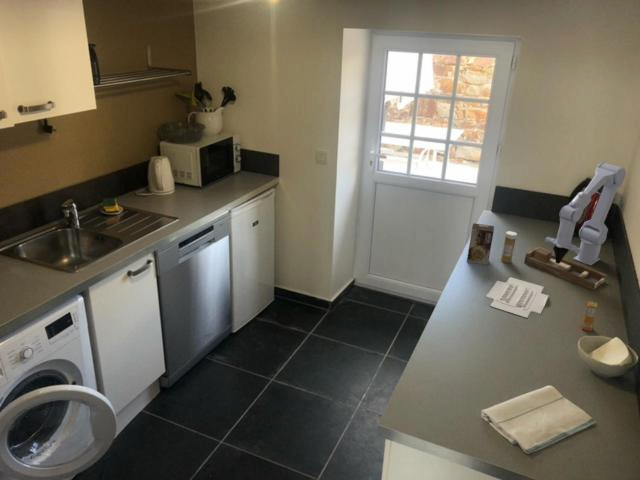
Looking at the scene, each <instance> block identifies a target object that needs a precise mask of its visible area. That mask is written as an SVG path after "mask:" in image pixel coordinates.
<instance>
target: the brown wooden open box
mask: <svg viewBox="0 0 640 480" xmlns="http://www.w3.org/2000/svg"><path fill="white" fill-rule="evenodd" d="M540 248H541V247H540V246H538V247H536V248H534V249H532V250H530V251H529V252H527V253H526V254H525V257H524V262H523V263H524V264H526V265H529V266H531V267H534V268H536V269H539V270H542V271H544V272H547V273H549V274H552V275H554V276H556V277H559V278H561V279H564V280H567V281H569V282H573V283H575V284H577V285H579V286H582V287H584V288H586V289H589V290H592V291H594V290H595V289H597V288H598V287H599V286H600V284H601V285H602V284H603V283H605V281H606V278H607V274H605V273H603V272H599V271H598V270H595V269H591V268H589V267H587V266H584V265H581V264H578V263H577V262H573V261H570V260H567V259H565V258H563V259H562V261H561V263H559V264H558V263H556V258H555V254H552V255H551V259H550V260H549V261H547V262H546V263H544V262H542V261H539V260H536V259H534V256H535V252H536V250H538V249H540ZM597 286H598V287H597ZM593 289H594V290H593Z"/></svg>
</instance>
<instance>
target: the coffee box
mask: <svg viewBox="0 0 640 480" xmlns="http://www.w3.org/2000/svg"><path fill="white" fill-rule="evenodd" d="M494 231H495V225H488V224H487V225H486V224H480V223H472V227H471V232H470V240H469V243H468V244H469V245H468V252H467V257H466V262H467V263H473V264H479V265H485V266H488V265H489V259H490V255H491V249H492V243H493V238H494Z"/></svg>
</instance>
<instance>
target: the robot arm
mask: <svg viewBox="0 0 640 480" xmlns="http://www.w3.org/2000/svg"><path fill="white" fill-rule="evenodd" d="M626 175H627V172H626V169H625V167H621V166H617V165H614V164H611V163H607V162H605V161H601V162H600V163H599V164H597V166H596V168H595V169H594V176H593V178H592V179H591V180H590V182H589V183H588V185H587V186H586V187H585V189H584V190H583V191H579V192H577V194H576V195H575V196H574V198H573V199H572V200H571V201H570V202H569V203H568V204H566V205H564V206H562V207H561V209H560V211H559V222H560V223H559V226H558V227H559V228H558V232H557V234H556V238H554V237H550V236H547V237H545V238H544V242H545V243H549V244H551V245H554V246H553V248H552V249H553V250H552V251H553V252H554V256H555V258H556V263H558V264H559V263H561V261H562V259H564V257H565V256H566V255H567V253H568V252H569V251H571V252H574V253H575V254H577V255H576V256H574V257H573V258H572V259H573V260H574V261H575V260H576V261H577V262H581V263H583V264H585V265H588V266H592V265H594V264H595V263H596V262H598V261H600V259H601V258H599V256H600V251H601V248H602V244H604V243H605V241H606V239H607V237H608V236H607V235H608V232H609V228H608V227H607V225H606V224H605V221H606V219H607V217H608V216H607V215H608V214H609V210H610V209H611V206H612V203H613V201H614V199H615V196H616V194H617V191H618V189H619V188H620V187H622V184H623V182H624V180H625V178H626ZM601 187H603V188H602V190H601V193H600V195H599V199H598V202H597V203H596V207H595V209H594V212H593V214H592V216H591V219H589V220H587V221H584V223H583V224H582V226H581V228H579V231H578V236H579V238H580V239H579V241H581V242H580V246H579V247H578V246H576V245H574V244H572V239H573V235H574V233H575V232H574V231H575V228H576V223H578V221H579V220H580V219H581V218H582V215H583V213H584V210H585V208H586V207H587V206H588V205H589V204H590V203H591V202H592V196H593V195H594V194H595V193H596V192H598V190H600V189H601Z"/></svg>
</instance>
